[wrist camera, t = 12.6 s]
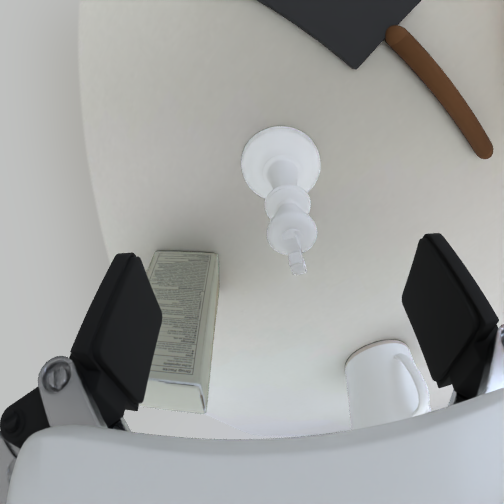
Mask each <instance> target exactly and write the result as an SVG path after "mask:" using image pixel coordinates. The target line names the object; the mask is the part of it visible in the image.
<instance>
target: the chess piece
mask: <svg viewBox="0 0 504 504" xmlns="http://www.w3.org/2000/svg"><path fill="white" fill-rule="evenodd" d="M241 168H242V172H243V176H244V179H245V181H246V183H247V185H248V186H249V187H250V188H251V190H252V191H253V192H255V193H256V194H257V195H259V196H260V197H262V198H264V199H266V200H265V211H266V214H267V215H268V217H269V218H270V219H271V222H270V223H269V225H268V228H267V240H268V242H269V244H270V246H271V247H272V248H273V249H274V250H275V251H277V252H279V253H281V254H284V255H288V257H289V266H290V268H291V271H292V274H293V275H294V274H296V275H300V274H304V273H307V269H306V264H305V261H304V258H303V255H302V253H304V252H306V251H307V250H309V249H310V248H311V247H312V246H313V244H314V243H315V241H316V238H317V227H316V224H315V222H314V221H313V219H312V218H311V217H310V216H309V215H308V214H309V211H310V208H311V201H310V198H309V196H308V194H307V192H309V191H310V190H311V189H312V187H313V186H314V185H315V183H316V181H317V179H318V177H319V173H320V156H319V152H318V149H317V147H316V145H315V144H314V142H313V141H312V140H311V139H310V138H309V137H308V136H307V135H306V134H305V133H303V132H301V131H300V130H297V129H295V128H292V127H287V126H275V127H270V128H267V129H264V130H262V131H260V132H259V133H257V134H256V135H254V136H253V137H252V138H251V139H250V140H249V142H248V143H247V144H246V146H245V148H244V150H243V153H242V158H241Z"/></svg>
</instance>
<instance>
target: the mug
mask: <svg viewBox="0 0 504 504" xmlns="http://www.w3.org/2000/svg"><path fill="white" fill-rule="evenodd" d="M345 374H346V382H347V391H348V401H349V411H350V423H351V430H354V429H360V428H366V427H371V426H376V425H381V424H385V423H390V422H394V421H398V420H403V419H407V418H410V417H414V416H418V415H421V414H425V413H428V412H431V409H430V405H429V402H430V401H429V391H428V388H427V385H426V382H425V380H424V378H423V376H422V375H421V373H420V371H419V370H418V368H417V367H416V365H415V363H414V361H413V358H412V356H411V353H410V350H409V348H408V346H407V345H406V344H405V343H403V342H401V341H398V340H384V341H379V342H375V343H372V344H370V345H367V346H365V347H363V348H361V349H359V350H358V351H356V352H355V353H354V354H352V355H351V356H350V358H349V359H348V360H347V362H346V365H345Z"/></svg>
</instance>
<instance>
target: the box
mask: <svg viewBox="0 0 504 504" xmlns="http://www.w3.org/2000/svg"><path fill="white" fill-rule="evenodd" d="M147 277H148V279H149V282H150V284H151V287H152V289H153V292H154V294H155V297H156V299H157V301H158V304H159V306H160V309H161V311H162V324H161V328H160V332H159V336H158V340H157V344H156V348H155V352H154V356H153V360H152V365H151V369H150V374H149V378H148V383H147V387H146V392H145V397H144V401H143V402H142V403H141V404H140V403H139V406H142V407H149V408H156V409H163V410H171V411H180V412H190V413H199V414H205V413H206V411H207V401H208V391H209V380H210V370H211V360H212V350H213V340H214V331H215V322H216V314H217V305H218V297H219V263H218V255H217V254H215V253H203V252H177V251H156V252H155V254H154V256H153V258H152V261H151V263H150V266H149V268H148V271H147Z"/></svg>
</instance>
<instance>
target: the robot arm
mask: <svg viewBox="0 0 504 504" xmlns="http://www.w3.org/2000/svg"><path fill="white" fill-rule="evenodd" d="M402 303H403V306H404V308H405V311H406V313H407V315H408V318H409V320H410V322H411V325H412V327H413V330H414V332H415V335H416V337H417V340H418V342H419V345H420V347H421V350H422V352H423V355H424V358H425V360H426V363H427V366H428V369H429V371H430V374H431V377H432V379H433V380H434V381H436V382H437V385H438V388H441V387H445V386H448V385H451V384H452V385H453V388H454V390H453V393H452V396H451V399H450V402H449V404H448V407H445V408H442V409H438V410H435V411H432V412H428V413H425V414H421V415H418V416H414V417H410V418H407V419H403V420H398V421H394V422H390V423H385V424H381V425H376V426H371V427H366V428H360V429H354V430H348V431H342V432H335V433H328V434H320V435H311V436H301V437H289V438H275V439H274V438H273V439H199V438H184V437H172V436H161V435H152V434H144V433H135V432H131V430H130V429H129V427H128V425H127V423H126V421H125V420H124V418H123V415H124V411H125V410H133V411H138V406H139V403H140V404H141V403H142V402H143V401H144V397H145V392H146V387H147V383H148V378H149V374H150V369H151V365H152V360H153V356H154V352H155V348H156V344H157V340H158V336H159V332H160V328H161V324H162V311H161V309H160V306H159V304H158V301H157V299H156V297H155V294H154V292H153V289H152V287H151V284H150V282H149V279H148V277H147V274H146V272H145V269H144V266H143V264H142V261H141V259H140V258H139V257H136V255H135V254H134V253H121V254H117V255H116V256H115V258H114V259H113V261H112V263H111V265H110V267H109V269H108V271H107V273H106V275H105V277H104V279H103V281H102V283H101V285H100V287H99V289H98V291H97V293H96V295H95V297H94V300H93V301H92V303H91V305H90V308H89V310H88V312H87V314H86V316H85V318H84V321H83V323H82V325H81V328H80V330H79V332H78V335H77V337H76V339H75V342H74V344H73V346H72V349H71V355H70V357H69V358H68V357H64V356H57V357H54V358H52V359H50V360H49V361H48V362H46V364H45V365H44V366H43V367H42V369H41V371H40V373H39V377H38V387H37V388H36V389H34V390H33V391H31V392H30V393H28V394H27V395H25V396H24V397H22V398H21V399H19V400H18V401H16V402H15V403H14V404H12V405H10V406H9V407H8V408H7V409H6V410H5V411H4V413H3V415H2V417H1V420H0V429H1V431H0V504H504V324H503V325H501V326H500V327H499V328H498V327H497V325H496V324H497V323H498V321H499V319H498V317H497V316H496V314H495V312H494V310H493V309H492V307H491V305H490V304H489V302H488V300H487V299H486V297H485V296H484V294H483V292H482V291H481V289H480V288H479V286H478V285H477V283H476V282H475V280H474V279H473V277H472V276H471V274H470V273H469V271H468V270H467V268H466V267H465V265H464V264H463V263H462V261H461V260H460V258H459V257H458V256H457V254H456V253H455V251H454V250H453V249H452V247H451V246H450V245H449V243H448V242H447V241H446V239H445V238H444V237H443V236H442V235H441V234H440V233H434V234H425V235H424V236H423V238H422V239H420V240H419V243H418V247H417V250H416V254H415V257H414V260H413V264H412V267H411V270H410V273H409V276H408V279H407V282H406V285H405V288H404V291H403V294H402Z"/></svg>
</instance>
